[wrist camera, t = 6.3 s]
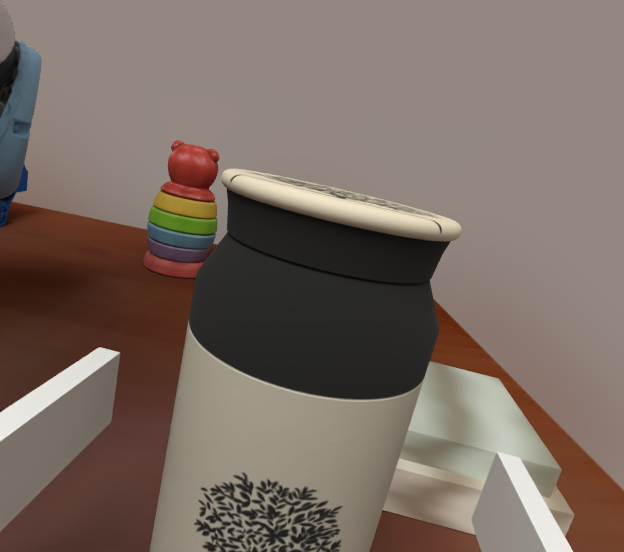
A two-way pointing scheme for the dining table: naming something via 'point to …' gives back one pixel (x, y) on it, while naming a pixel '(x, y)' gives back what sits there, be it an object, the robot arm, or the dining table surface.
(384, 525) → the dining table surface
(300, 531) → the travel mug
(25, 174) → the toy vehicle
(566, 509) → the plinth
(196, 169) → the stacking bear
